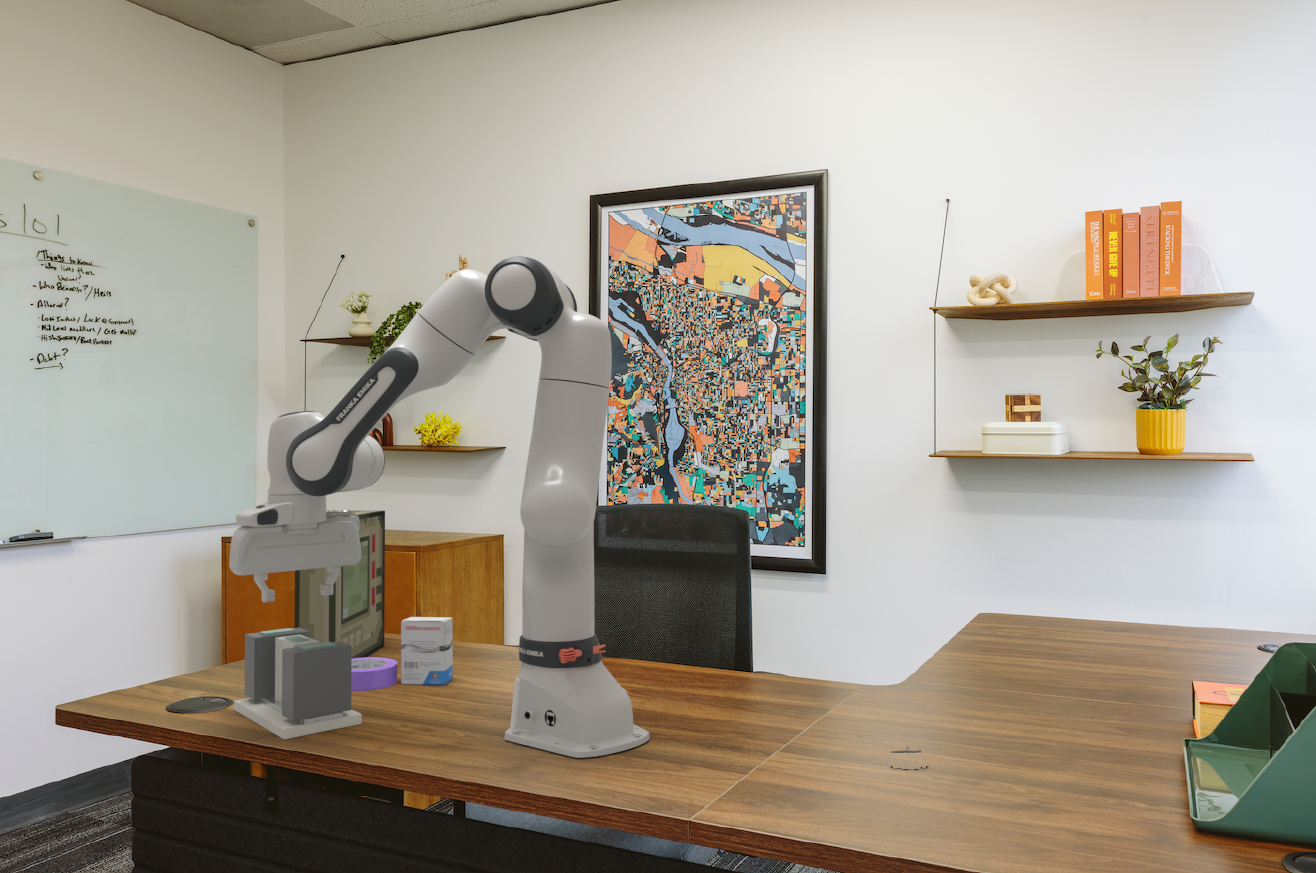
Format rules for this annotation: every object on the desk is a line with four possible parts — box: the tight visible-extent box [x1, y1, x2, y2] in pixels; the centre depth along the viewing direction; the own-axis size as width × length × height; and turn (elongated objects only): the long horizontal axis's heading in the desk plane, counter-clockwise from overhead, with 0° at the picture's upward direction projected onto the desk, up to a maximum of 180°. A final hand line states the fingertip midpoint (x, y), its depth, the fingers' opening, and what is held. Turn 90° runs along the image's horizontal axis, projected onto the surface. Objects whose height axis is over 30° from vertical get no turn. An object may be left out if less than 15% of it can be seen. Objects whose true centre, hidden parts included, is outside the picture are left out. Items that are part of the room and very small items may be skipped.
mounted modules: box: [244, 627, 352, 721], centre depth 149 cm, size 21×9×10 cm, turn 42°
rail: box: [257, 697, 343, 725], centre depth 149 cm, size 22×6×1 cm, turn 42°
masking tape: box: [351, 656, 398, 692], centre depth 172 cm, size 12×12×4 cm
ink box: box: [400, 616, 454, 686], centre depth 173 cm, size 8×5×12 cm, turn 84°
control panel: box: [293, 510, 386, 659], centre depth 191 cm, size 30×8×30 cm, turn 178°
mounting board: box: [233, 697, 363, 740], centre depth 149 cm, size 22×12×2 cm, turn 42°
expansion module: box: [275, 635, 320, 703], centre depth 149 cm, size 4×8×10 cm, turn 42°
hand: (298, 598), depth 150 cm, fingers open, 8 cm apart
